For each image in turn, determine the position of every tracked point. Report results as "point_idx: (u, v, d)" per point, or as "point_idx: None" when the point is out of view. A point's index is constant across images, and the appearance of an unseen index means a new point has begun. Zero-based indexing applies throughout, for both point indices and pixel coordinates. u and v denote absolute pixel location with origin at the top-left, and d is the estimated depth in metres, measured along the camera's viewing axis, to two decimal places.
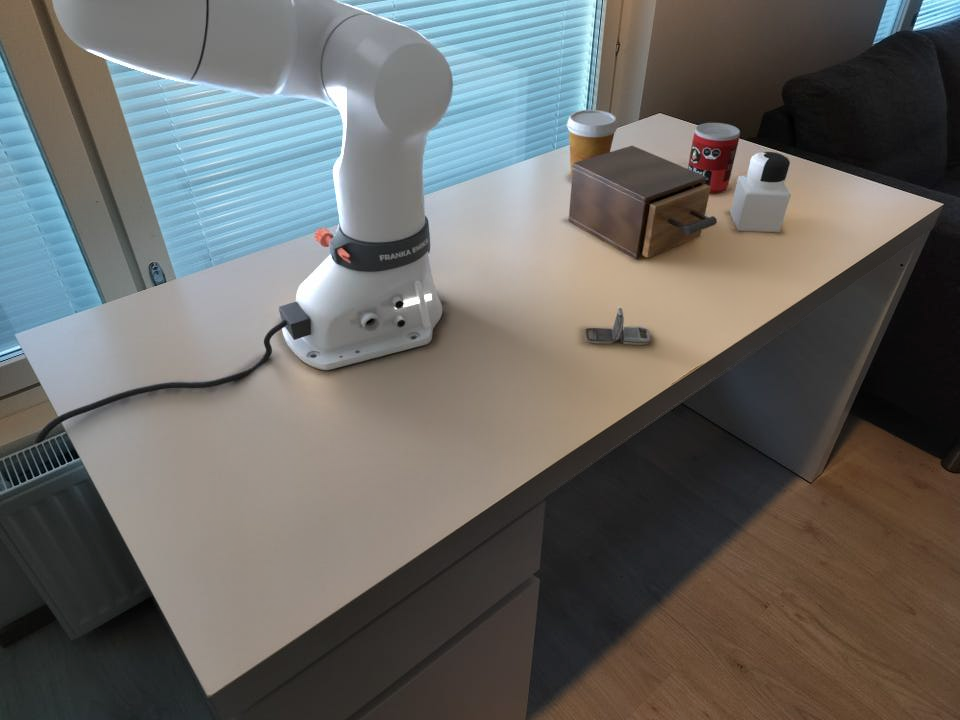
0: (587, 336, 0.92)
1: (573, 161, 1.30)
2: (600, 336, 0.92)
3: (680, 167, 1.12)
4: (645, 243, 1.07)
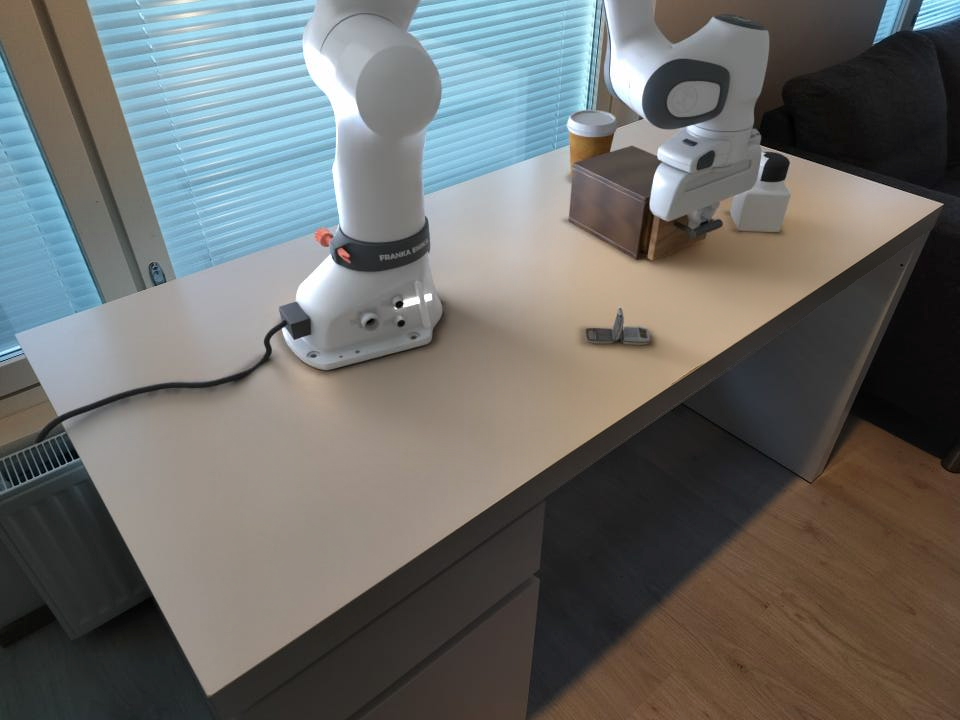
0: (587, 336, 0.92)
1: (573, 161, 1.30)
2: (600, 336, 0.92)
3: None
4: (650, 246, 1.06)
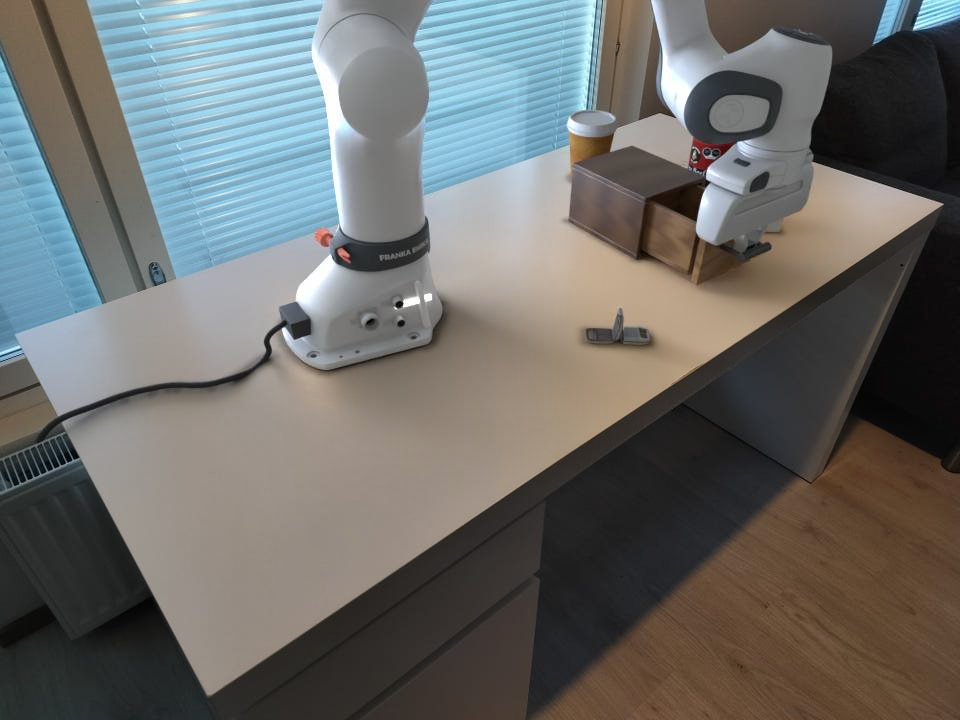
0: (587, 336, 0.92)
1: (573, 161, 1.30)
2: (600, 336, 0.92)
3: (680, 167, 1.12)
4: (695, 270, 1.00)
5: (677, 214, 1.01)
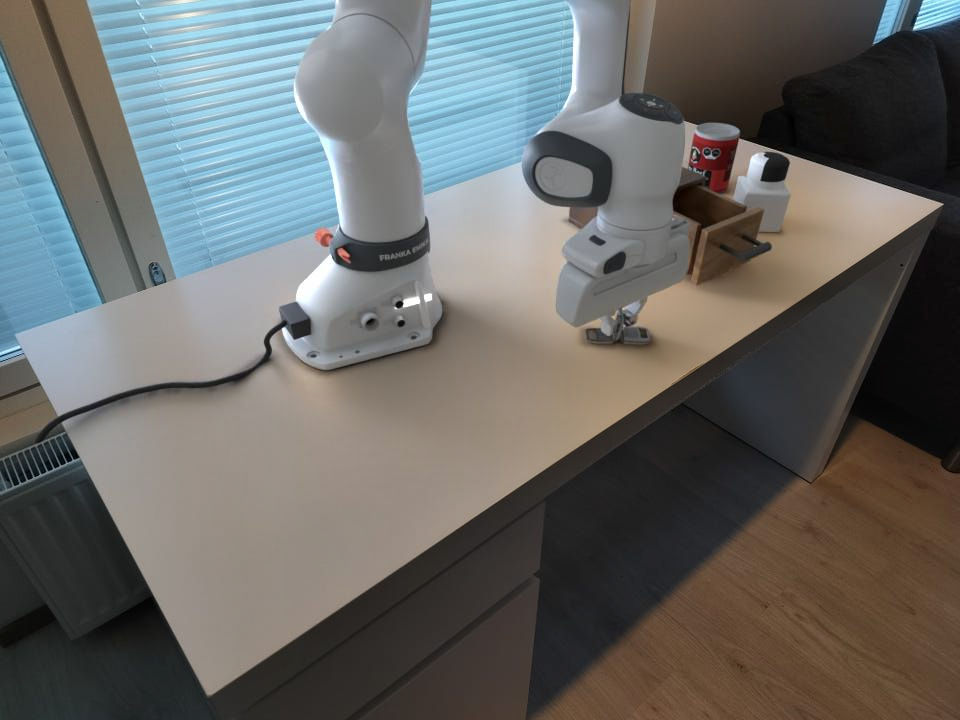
0: (587, 336, 0.92)
1: None
2: (600, 336, 0.92)
3: None
4: (695, 270, 1.00)
5: (677, 214, 1.01)
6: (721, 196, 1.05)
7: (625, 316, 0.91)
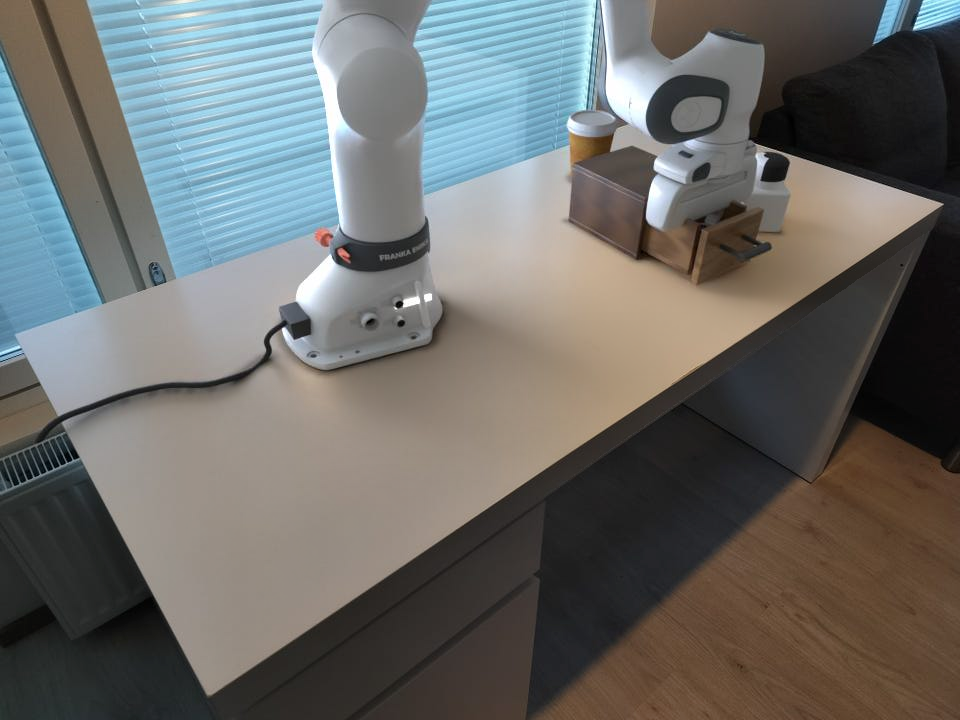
0: None
1: (573, 161, 1.30)
2: None
3: None
4: (694, 270, 1.01)
5: None
6: None
7: (704, 227, 1.07)
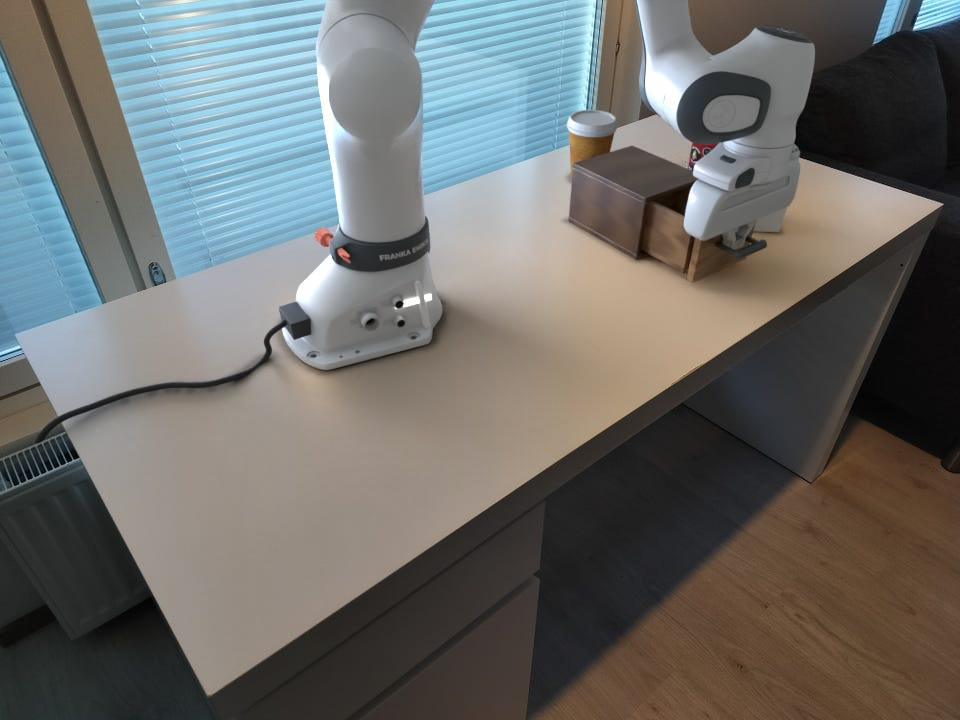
0: None
1: (573, 161, 1.30)
2: None
3: (680, 167, 1.12)
4: (690, 268, 1.01)
5: (673, 212, 1.01)
6: None
7: None
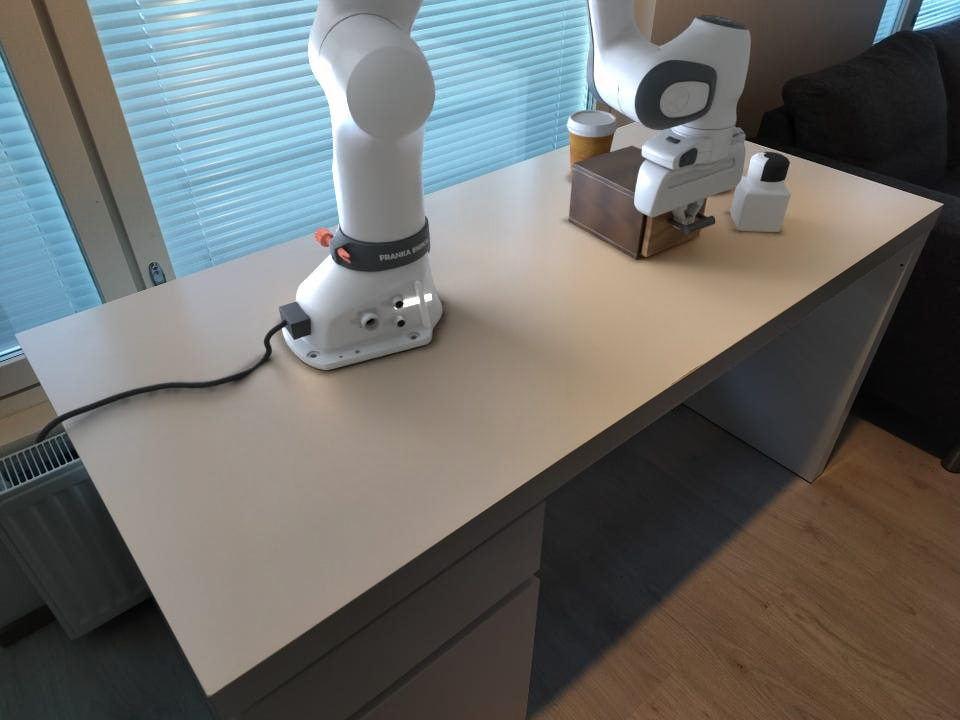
0: None
1: (573, 161, 1.30)
2: None
3: None
4: (644, 242, 1.07)
5: None
6: None
7: None
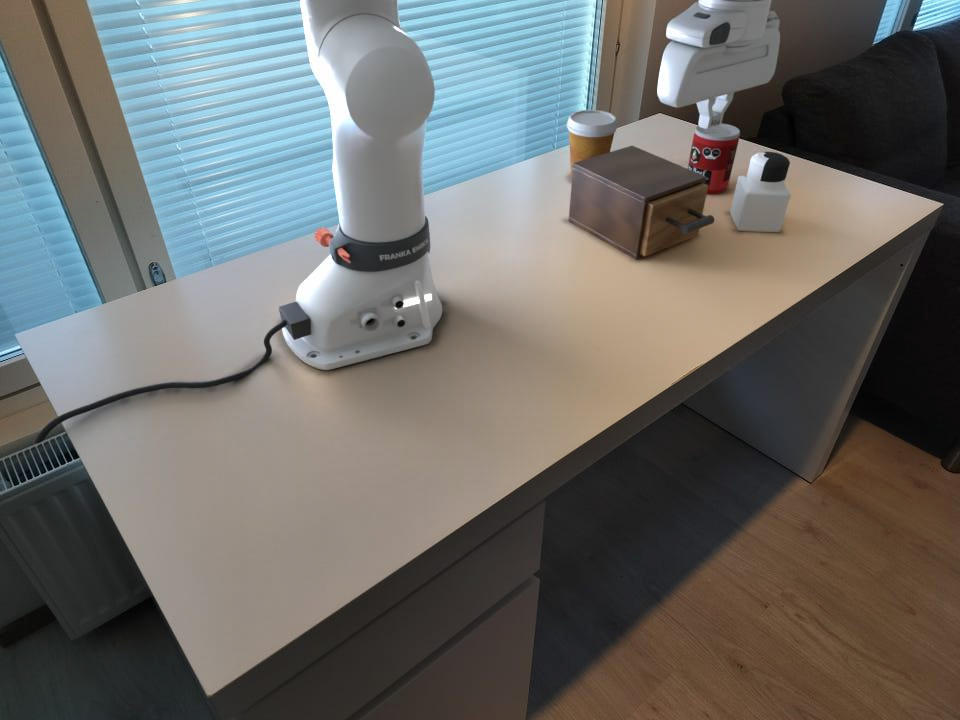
0: None
1: (573, 161, 1.30)
2: None
3: (680, 167, 1.12)
4: (643, 242, 1.07)
5: None
6: None
7: None
